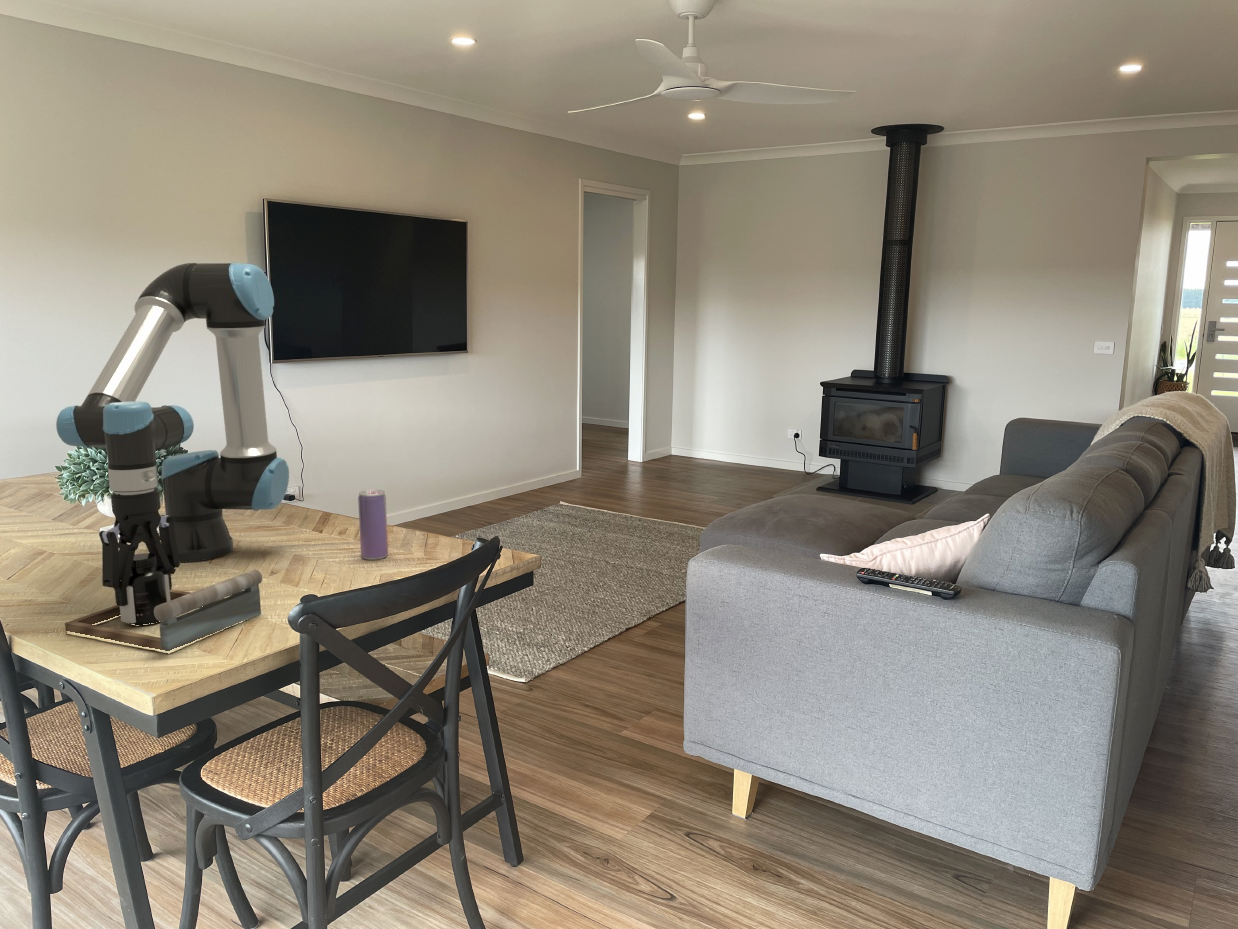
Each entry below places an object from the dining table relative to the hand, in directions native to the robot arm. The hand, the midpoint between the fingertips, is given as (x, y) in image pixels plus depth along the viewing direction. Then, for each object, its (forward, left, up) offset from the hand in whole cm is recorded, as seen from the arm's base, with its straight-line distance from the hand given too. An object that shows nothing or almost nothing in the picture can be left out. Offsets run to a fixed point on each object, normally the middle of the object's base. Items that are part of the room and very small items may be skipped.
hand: (146, 614), depth 159 cm
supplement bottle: (0, 0, -1) cm, 1 cm away
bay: (+5, 0, -1) cm, 5 cm away
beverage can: (+13, +49, -1) cm, 51 cm away
